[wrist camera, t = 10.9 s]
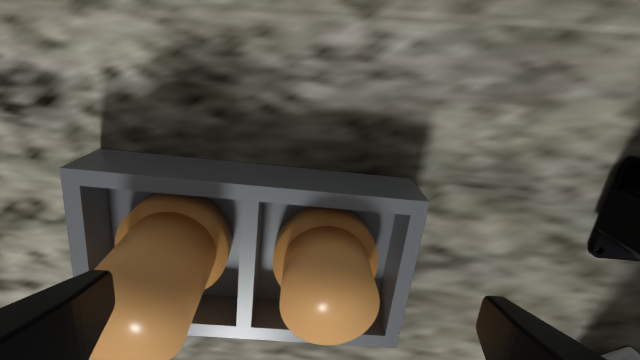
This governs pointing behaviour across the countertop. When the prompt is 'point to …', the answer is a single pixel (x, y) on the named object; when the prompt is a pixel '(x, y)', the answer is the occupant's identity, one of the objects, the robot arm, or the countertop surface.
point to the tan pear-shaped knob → (161, 274)
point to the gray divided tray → (270, 242)
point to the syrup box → (623, 354)
